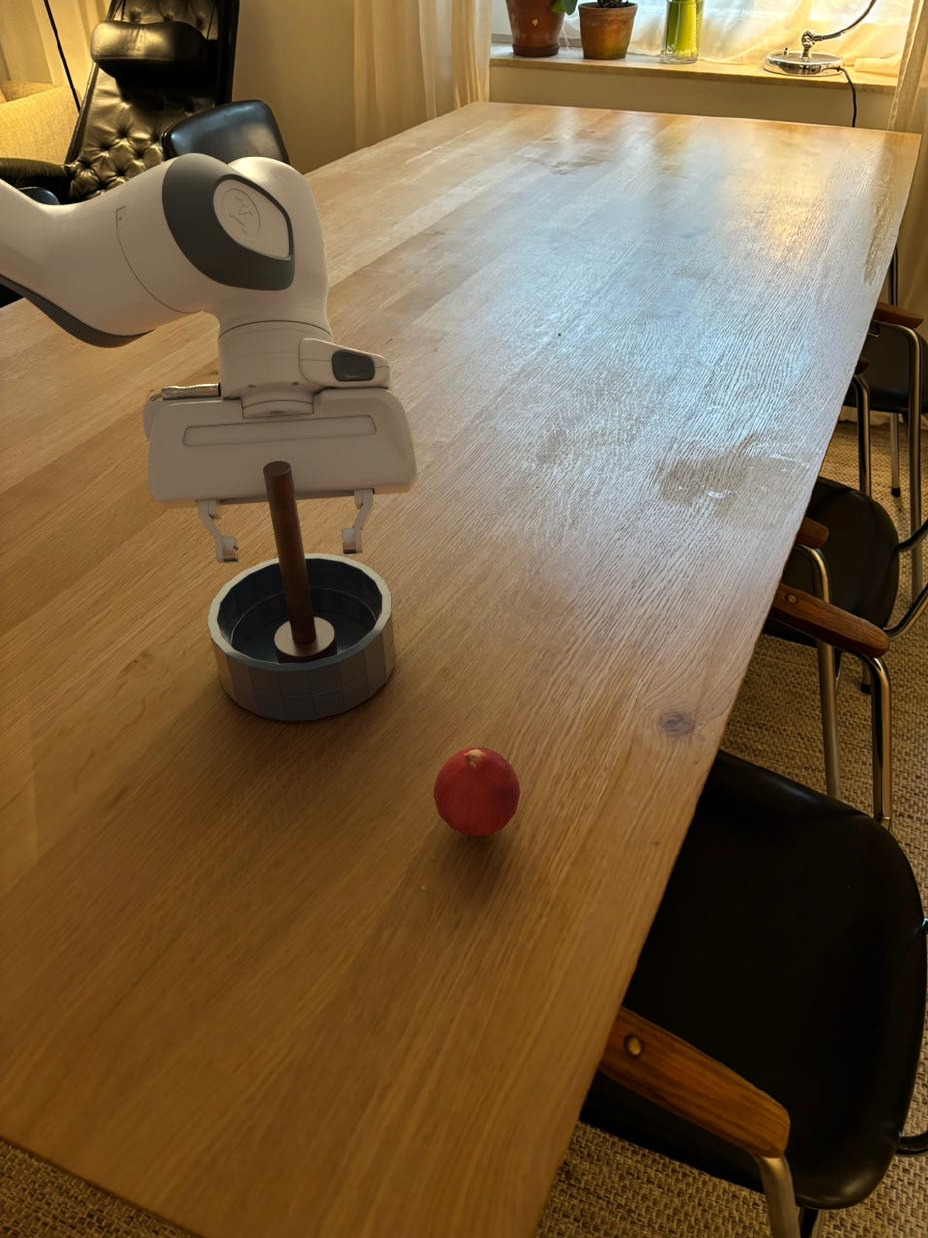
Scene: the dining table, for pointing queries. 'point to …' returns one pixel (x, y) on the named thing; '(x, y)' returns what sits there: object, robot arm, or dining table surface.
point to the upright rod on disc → (294, 576)
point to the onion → (476, 792)
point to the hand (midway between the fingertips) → (291, 557)
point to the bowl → (316, 687)
